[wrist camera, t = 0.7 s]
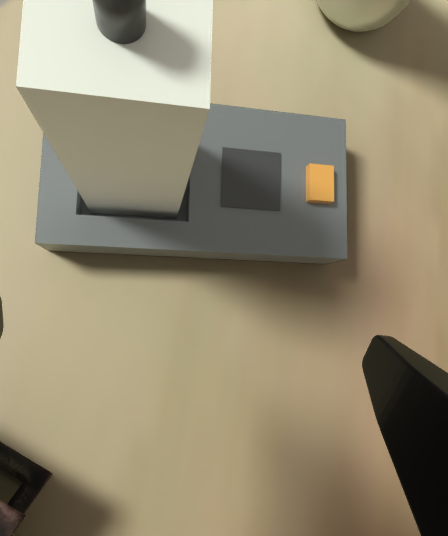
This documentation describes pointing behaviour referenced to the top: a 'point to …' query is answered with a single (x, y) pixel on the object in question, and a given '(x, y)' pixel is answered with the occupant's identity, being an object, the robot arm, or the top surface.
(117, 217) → the power strip
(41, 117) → the charger
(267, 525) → the top surface
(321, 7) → the plastic bottle
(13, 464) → the diary
